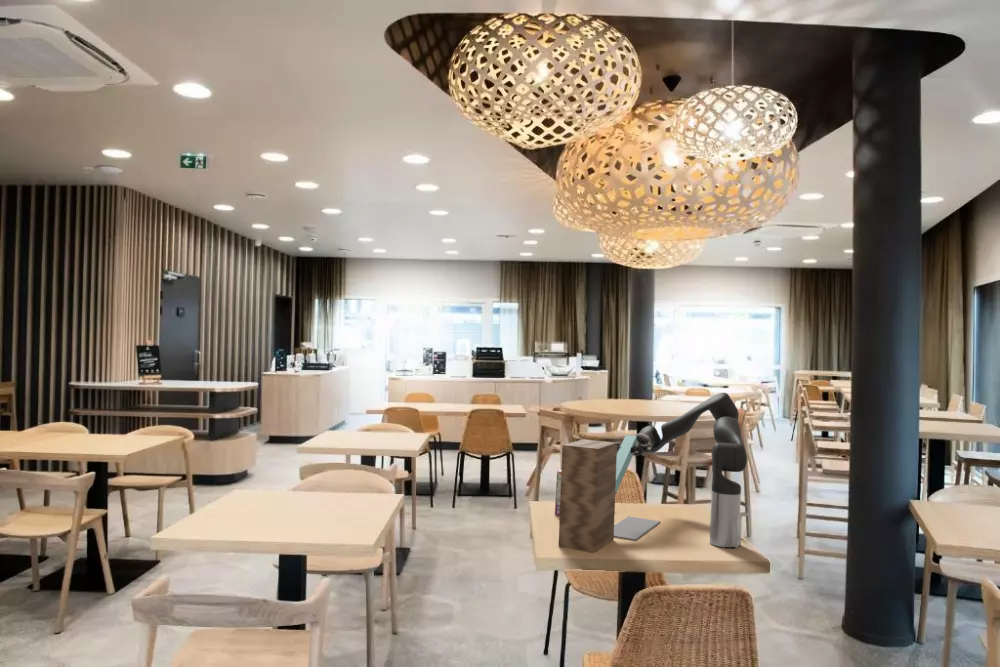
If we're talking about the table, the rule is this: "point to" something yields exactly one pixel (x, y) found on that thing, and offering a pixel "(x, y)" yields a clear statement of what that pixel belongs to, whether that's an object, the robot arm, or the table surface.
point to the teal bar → (624, 458)
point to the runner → (633, 528)
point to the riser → (587, 495)
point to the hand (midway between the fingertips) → (625, 449)
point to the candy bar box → (558, 493)
